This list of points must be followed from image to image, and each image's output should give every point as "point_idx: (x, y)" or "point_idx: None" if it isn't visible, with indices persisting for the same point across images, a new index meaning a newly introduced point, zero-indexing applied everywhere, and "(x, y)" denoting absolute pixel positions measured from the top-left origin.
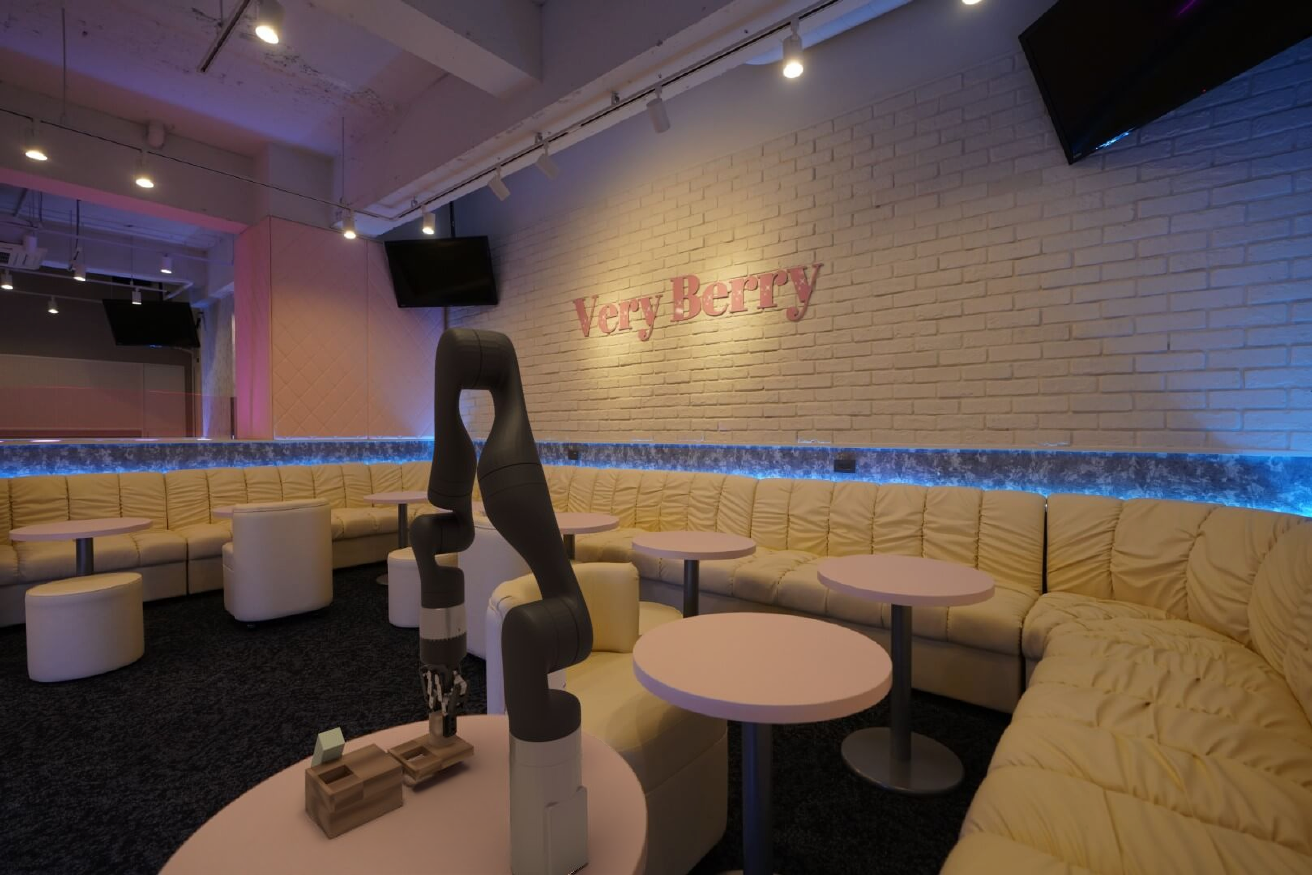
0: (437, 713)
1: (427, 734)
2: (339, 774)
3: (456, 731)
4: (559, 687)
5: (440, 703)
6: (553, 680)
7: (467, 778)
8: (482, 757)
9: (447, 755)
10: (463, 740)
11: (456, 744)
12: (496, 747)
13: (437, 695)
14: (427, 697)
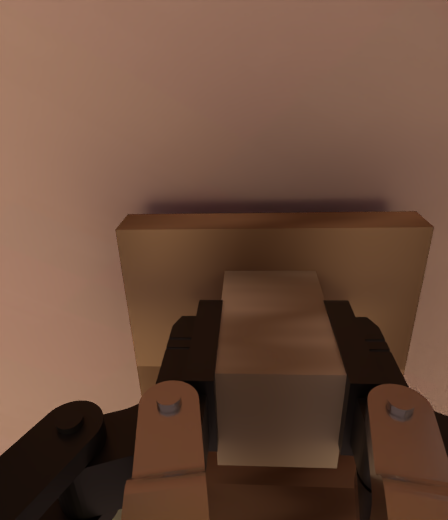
0: (260, 439)
1: (134, 311)
2: None
3: (346, 302)
4: None
5: (204, 435)
6: None
7: (437, 248)
8: (354, 120)
9: (394, 342)
10: (334, 232)
11: (340, 273)
12: (332, 9)
13: (130, 470)
14: (111, 516)
